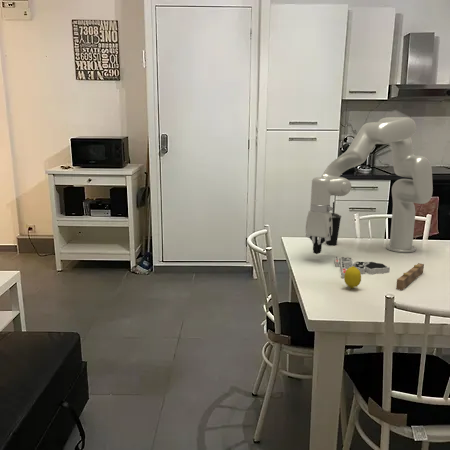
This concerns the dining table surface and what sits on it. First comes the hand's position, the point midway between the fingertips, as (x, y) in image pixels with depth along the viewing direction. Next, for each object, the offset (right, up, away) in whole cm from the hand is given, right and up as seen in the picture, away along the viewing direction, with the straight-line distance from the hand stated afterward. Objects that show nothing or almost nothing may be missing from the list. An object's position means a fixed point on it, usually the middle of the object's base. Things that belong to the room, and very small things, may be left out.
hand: (317, 252), depth 187 cm
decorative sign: (+15, -7, -10) cm, 20 cm away
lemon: (+6, -11, -30) cm, 32 cm away
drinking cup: (+12, +2, +28) cm, 31 cm away
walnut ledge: (+29, -9, -22) cm, 37 cm away
